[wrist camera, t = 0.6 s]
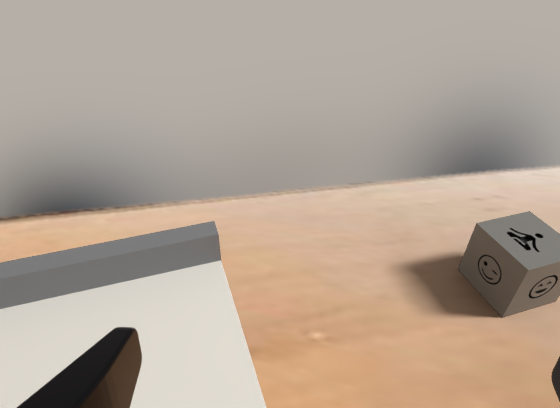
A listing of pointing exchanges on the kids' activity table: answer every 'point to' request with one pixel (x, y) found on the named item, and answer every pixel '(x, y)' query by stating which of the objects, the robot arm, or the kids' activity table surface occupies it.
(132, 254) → the shelf board
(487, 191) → the kids' activity table surface
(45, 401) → the robot arm
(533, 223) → the dice cube
